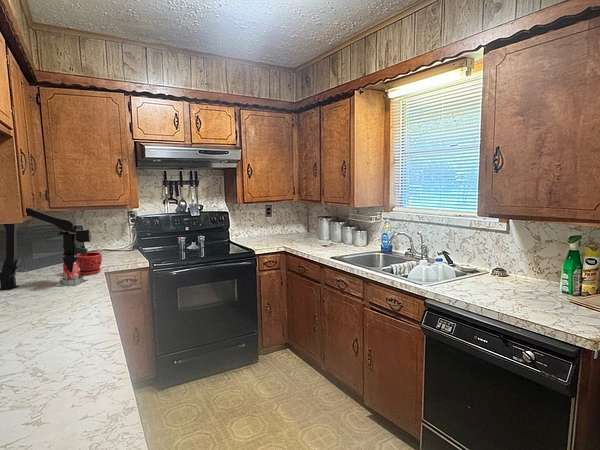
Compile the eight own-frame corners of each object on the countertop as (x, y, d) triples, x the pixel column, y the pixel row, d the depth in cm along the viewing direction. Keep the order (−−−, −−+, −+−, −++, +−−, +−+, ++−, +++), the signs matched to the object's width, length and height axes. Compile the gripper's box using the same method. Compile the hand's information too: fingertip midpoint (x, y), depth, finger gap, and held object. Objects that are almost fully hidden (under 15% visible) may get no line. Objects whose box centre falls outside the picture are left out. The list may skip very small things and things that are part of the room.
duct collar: (76, 286, 195) (75, 280, 195) (55, 286, 195) (54, 280, 195) (87, 280, 206) (87, 275, 206) (68, 280, 206) (67, 275, 206)
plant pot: (72, 275, 216) (71, 255, 215) (87, 270, 229) (85, 251, 228) (94, 276, 215) (92, 256, 214) (107, 270, 228) (106, 252, 227)
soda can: (68, 278, 204) (67, 257, 202) (81, 279, 205) (80, 258, 203) (61, 282, 197) (59, 261, 195) (75, 283, 198) (73, 261, 196)
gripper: (86, 244, 194) (88, 272, 196) (85, 239, 210) (87, 265, 212) (61, 245, 189) (64, 275, 190) (62, 240, 204) (64, 268, 206)
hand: (70, 270), depth 200 cm, fingers closed on soda can, 7 cm apart
